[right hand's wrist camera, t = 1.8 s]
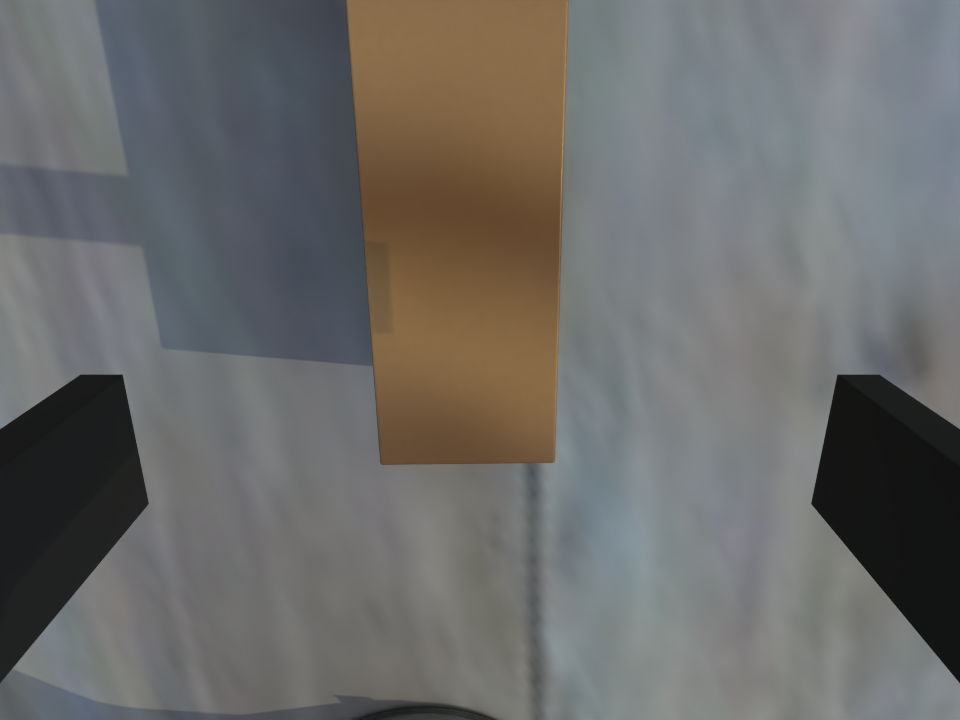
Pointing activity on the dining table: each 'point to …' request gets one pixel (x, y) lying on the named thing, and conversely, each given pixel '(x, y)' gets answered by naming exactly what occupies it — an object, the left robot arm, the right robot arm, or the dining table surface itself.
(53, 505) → the right robot arm
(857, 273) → the dining table surface
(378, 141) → the beam
